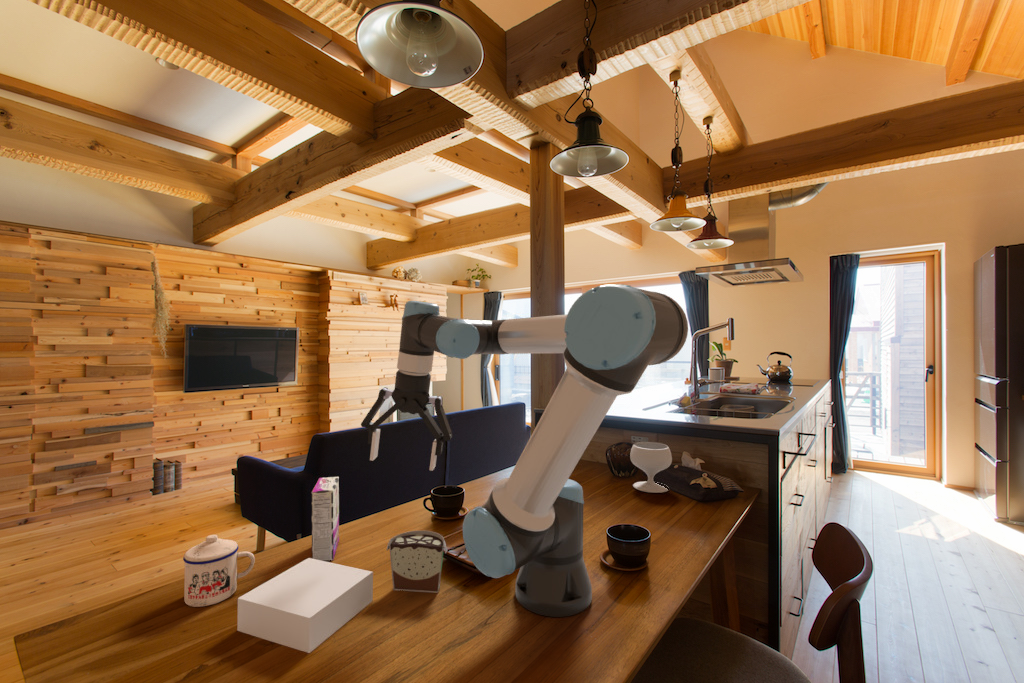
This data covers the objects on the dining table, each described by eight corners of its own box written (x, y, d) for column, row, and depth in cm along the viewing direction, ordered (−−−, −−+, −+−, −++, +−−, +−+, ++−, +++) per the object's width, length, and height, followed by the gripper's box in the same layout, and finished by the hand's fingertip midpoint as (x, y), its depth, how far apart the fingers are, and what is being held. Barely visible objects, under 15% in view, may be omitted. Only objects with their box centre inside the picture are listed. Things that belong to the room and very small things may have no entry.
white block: (372, 602, 88) (372, 571, 88) (309, 655, 73) (309, 618, 73) (308, 586, 94) (308, 557, 94) (237, 632, 79) (237, 598, 79)
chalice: (680, 492, 154) (680, 448, 154) (644, 496, 150) (644, 451, 150) (656, 480, 167) (656, 440, 167) (622, 483, 163) (622, 442, 163)
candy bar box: (318, 542, 114) (318, 477, 114) (339, 540, 115) (340, 475, 115) (310, 563, 103) (310, 491, 103) (333, 561, 104) (334, 489, 104)
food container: (452, 577, 97) (453, 530, 97) (445, 593, 91) (446, 543, 91) (396, 574, 98) (397, 528, 98) (386, 589, 92) (386, 540, 92)
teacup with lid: (179, 613, 83) (180, 550, 84) (186, 590, 91) (186, 532, 91) (254, 596, 89) (255, 537, 89) (254, 575, 97) (254, 521, 97)
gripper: (472, 377, 103) (460, 465, 105) (365, 360, 104) (356, 448, 107) (467, 383, 95) (453, 479, 98) (352, 365, 97) (342, 460, 99)
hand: (402, 463), depth 102 cm, fingers open, 13 cm apart
